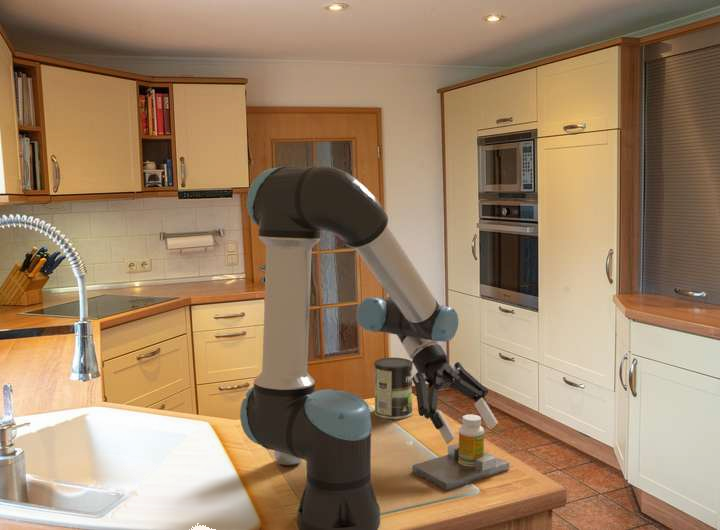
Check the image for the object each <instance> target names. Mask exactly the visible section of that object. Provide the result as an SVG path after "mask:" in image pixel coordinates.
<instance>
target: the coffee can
mask: <svg viewBox="0 0 720 530" xmlns="http://www.w3.org/2000/svg"><path fill="white" fill-rule="evenodd" d="M373 365H374V415H375V416H376V417H379V418H382V419H385V420H386V419H387V420H402V419H407V418H409V417H411V416H412V415H413V380H412V377H413V365H414V364H413V362H412V360H410V359H407V358H402V357H384V358H383V357H382V358H378V359H376V360H375V361H374V362H373Z"/></svg>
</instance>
